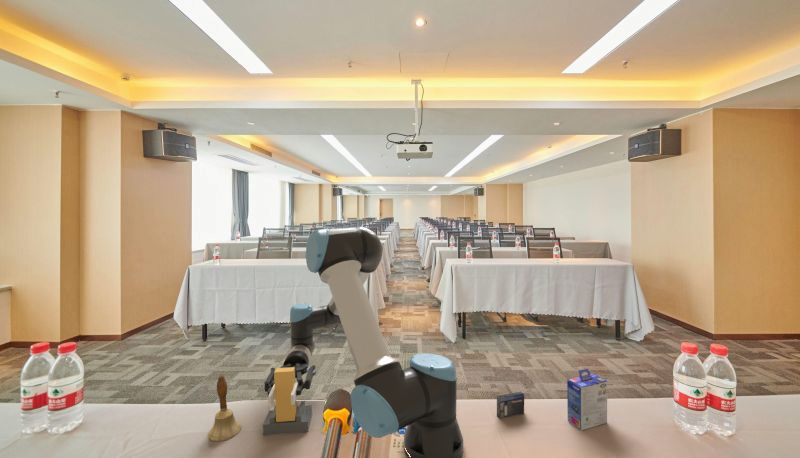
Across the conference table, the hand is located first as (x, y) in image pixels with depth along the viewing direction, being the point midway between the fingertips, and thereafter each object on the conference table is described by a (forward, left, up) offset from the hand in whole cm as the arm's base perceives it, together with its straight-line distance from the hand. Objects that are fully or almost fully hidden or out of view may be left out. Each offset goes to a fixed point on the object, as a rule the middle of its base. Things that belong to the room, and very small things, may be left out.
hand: (281, 400), depth 93 cm
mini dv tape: (-64, -5, -12) cm, 65 cm away
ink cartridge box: (-84, +1, -12) cm, 85 cm away
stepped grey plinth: (0, -8, -11) cm, 14 cm away
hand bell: (+17, -7, -12) cm, 22 cm away
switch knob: (0, -5, -8) cm, 10 cm away
